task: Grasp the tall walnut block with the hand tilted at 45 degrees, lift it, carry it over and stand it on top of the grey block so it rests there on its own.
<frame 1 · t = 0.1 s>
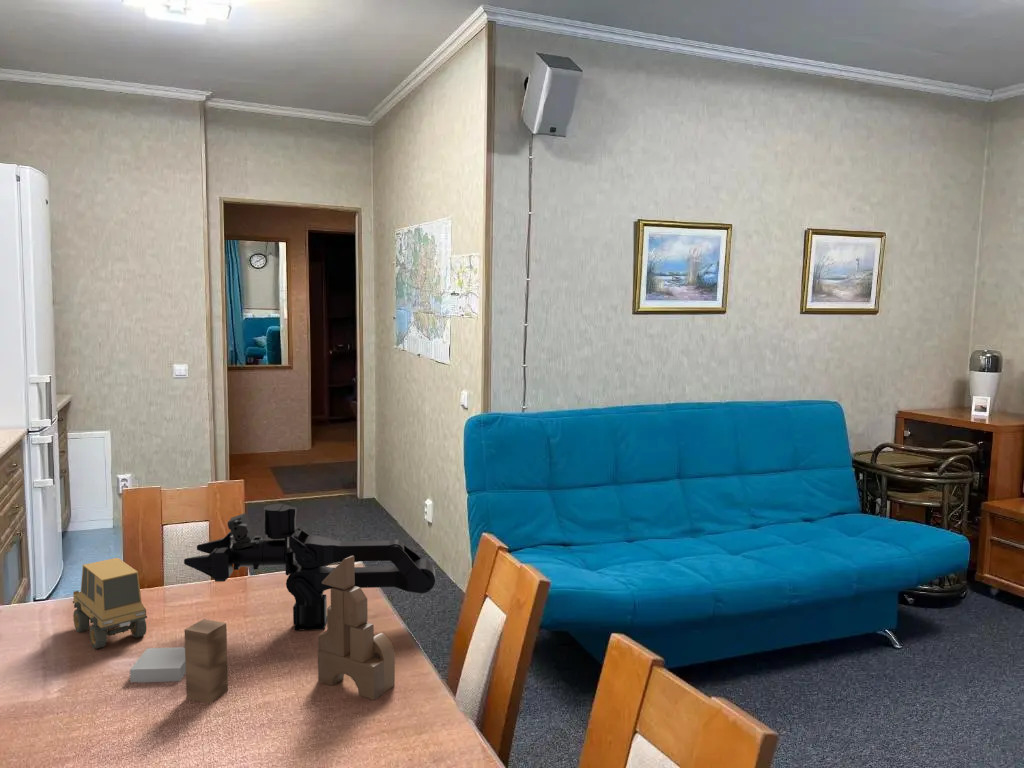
hand: (190, 554, 170), 17 cm above the table, tool horizontal, fingers open, 9 cm apart
wooden toy: (353, 683, 149), on the table
grey block: (163, 672, 152), on the table
toy car: (110, 634, 168), on the table
walnut block: (207, 694, 143), on the table
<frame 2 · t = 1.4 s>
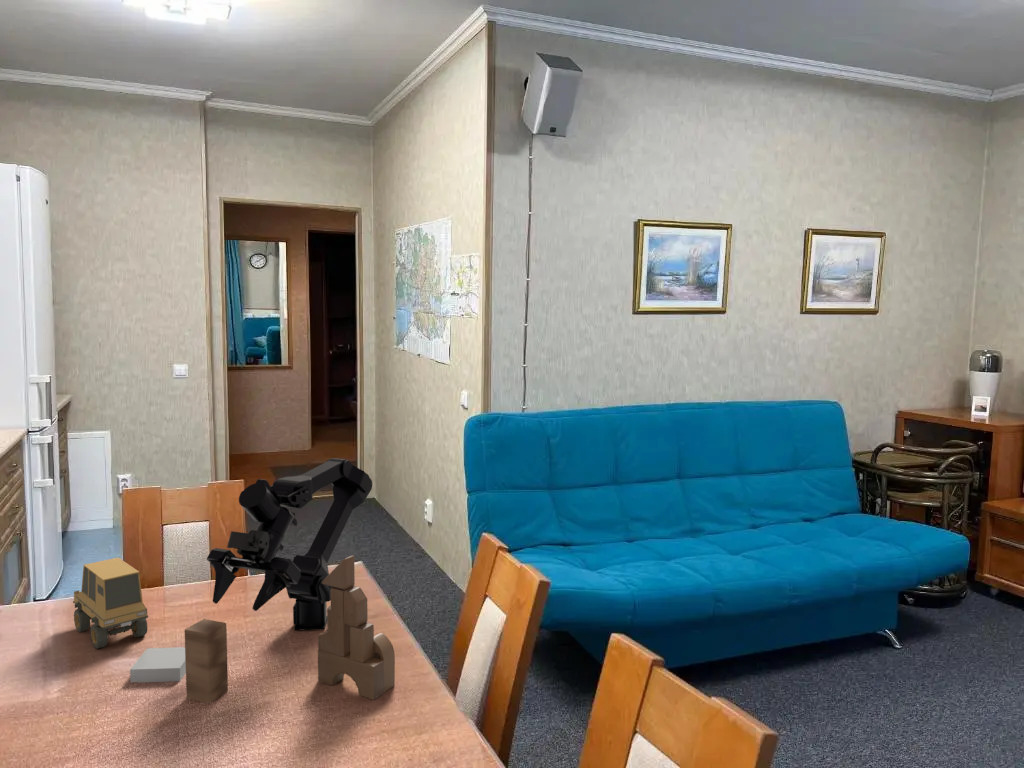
hand: (234, 606, 149), 14 cm above the table, tool tilted 45°, fingers open, 9 cm apart
nothing on the table moved.
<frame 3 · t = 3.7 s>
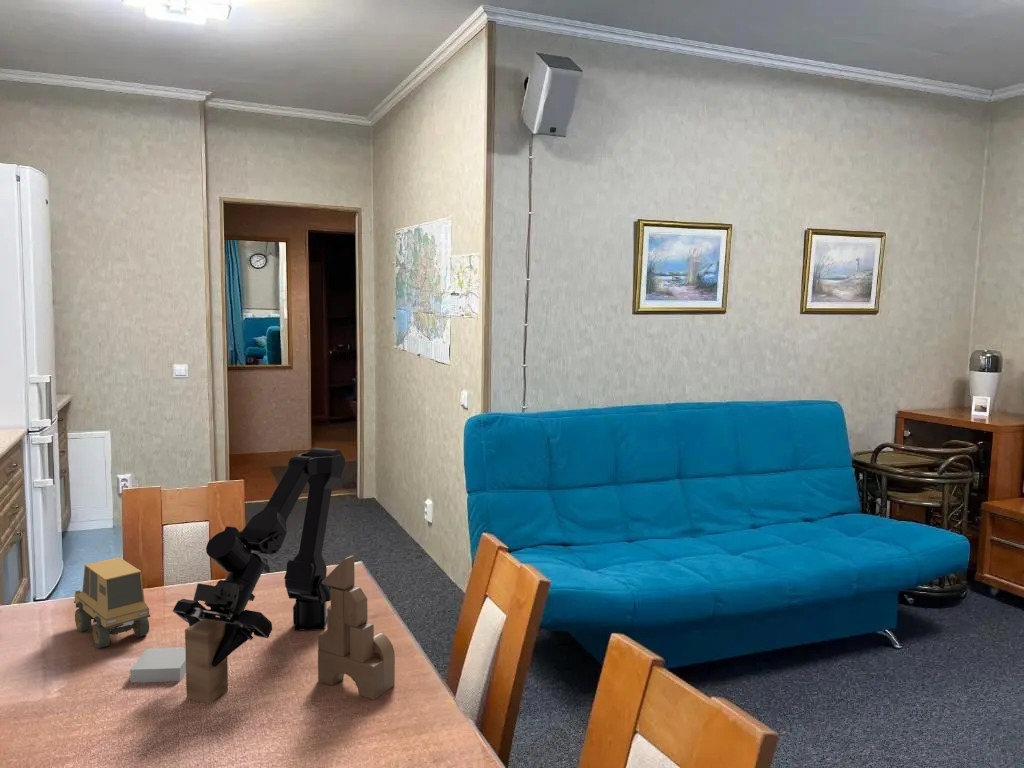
hand: (200, 663, 141), 7 cm above the table, tool tilted 45°, fingers closed on walnut block, 5 cm apart
walnut block: (207, 694, 143), on the table, touching gripper
everything else where it was.
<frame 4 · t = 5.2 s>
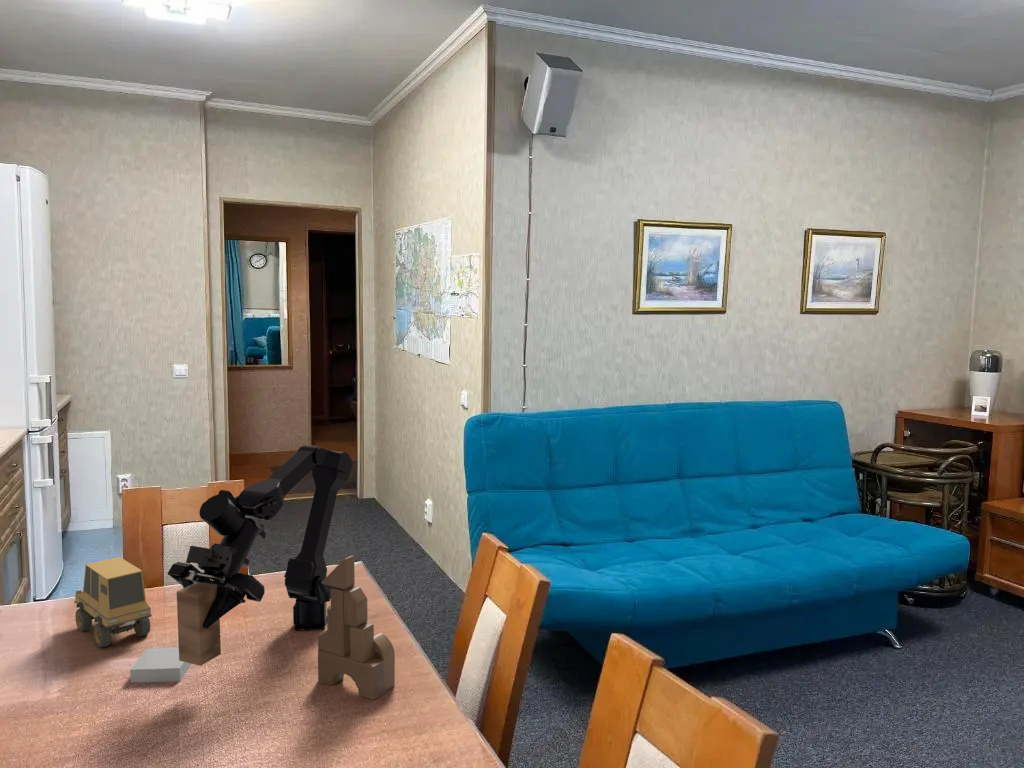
hand: (193, 624, 141), 13 cm above the table, tool tilted 45°, fingers closed on walnut block, 5 cm apart
walnut block: (200, 657, 143), point 7 cm above the table, touching gripper
everything else where it was.
when the fingers open (11 cm above the table, at t = 7.0 s): walnut block drops 1 cm, point 3 cm above the table.
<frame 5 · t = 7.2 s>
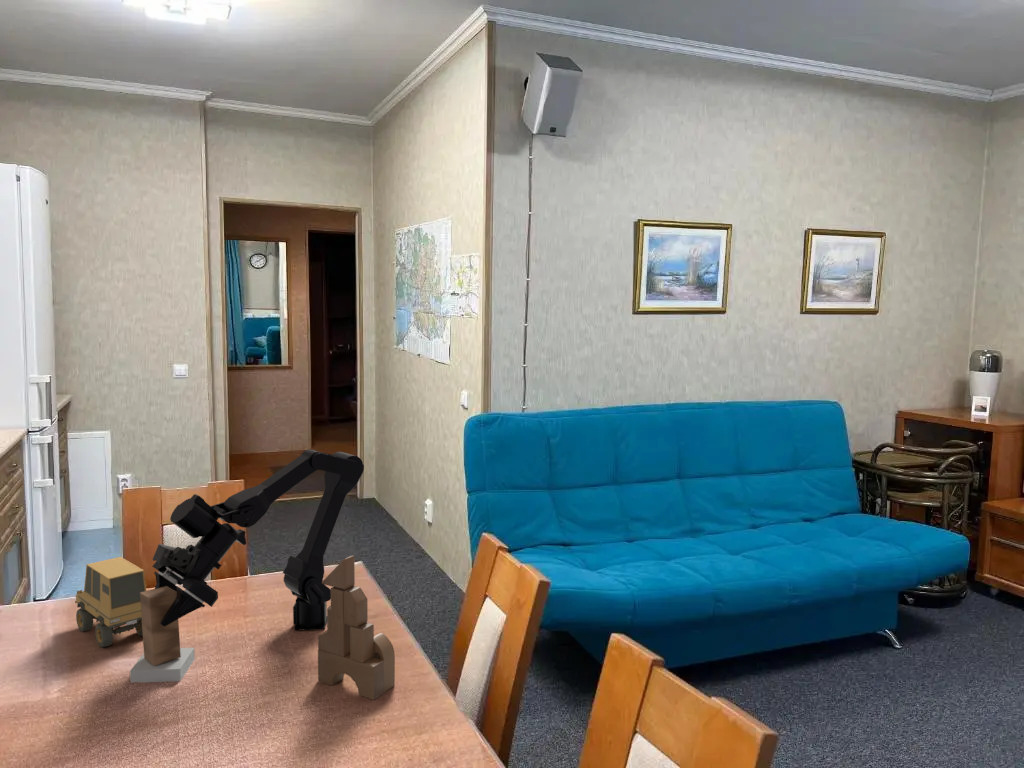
hand: (154, 619, 150), 11 cm above the table, tool tilted 45°, fingers open, 7 cm apart
walnut block: (162, 657, 152), point 3 cm above the table
everything else where it was.
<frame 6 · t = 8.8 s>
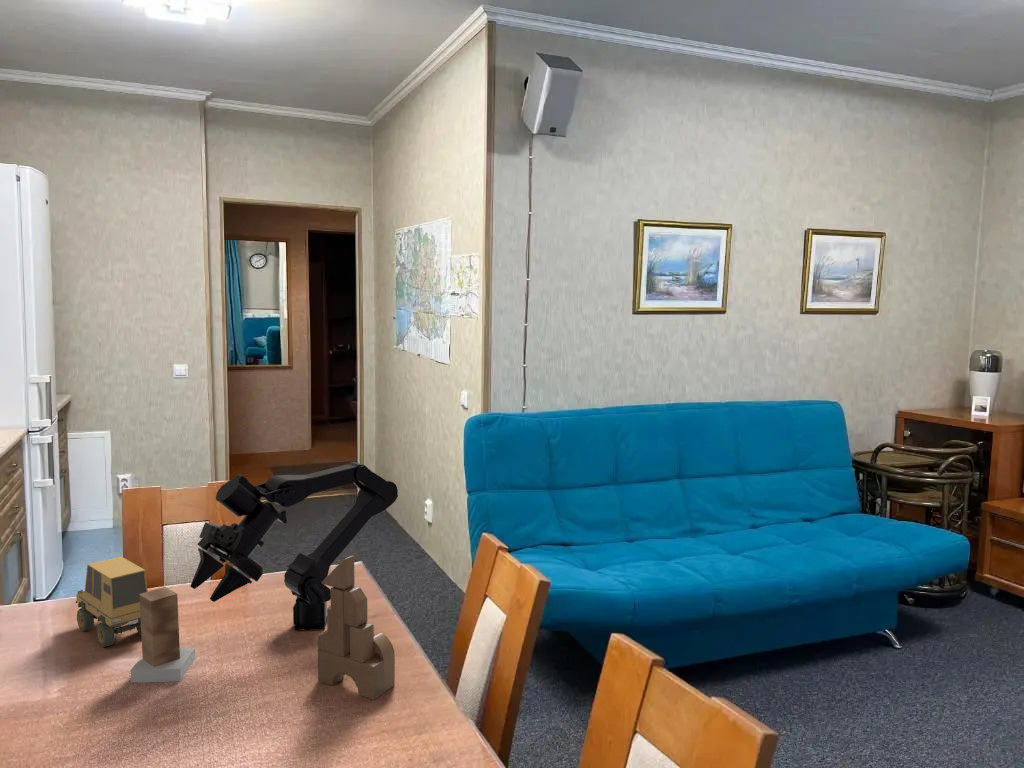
hand: (201, 594, 156), 13 cm above the table, tool tilted 45°, fingers open, 9 cm apart
grey block: (164, 673, 152), on the table, touching walnut block
walnut block: (161, 658, 152), point 2 cm above the table, touching grey block
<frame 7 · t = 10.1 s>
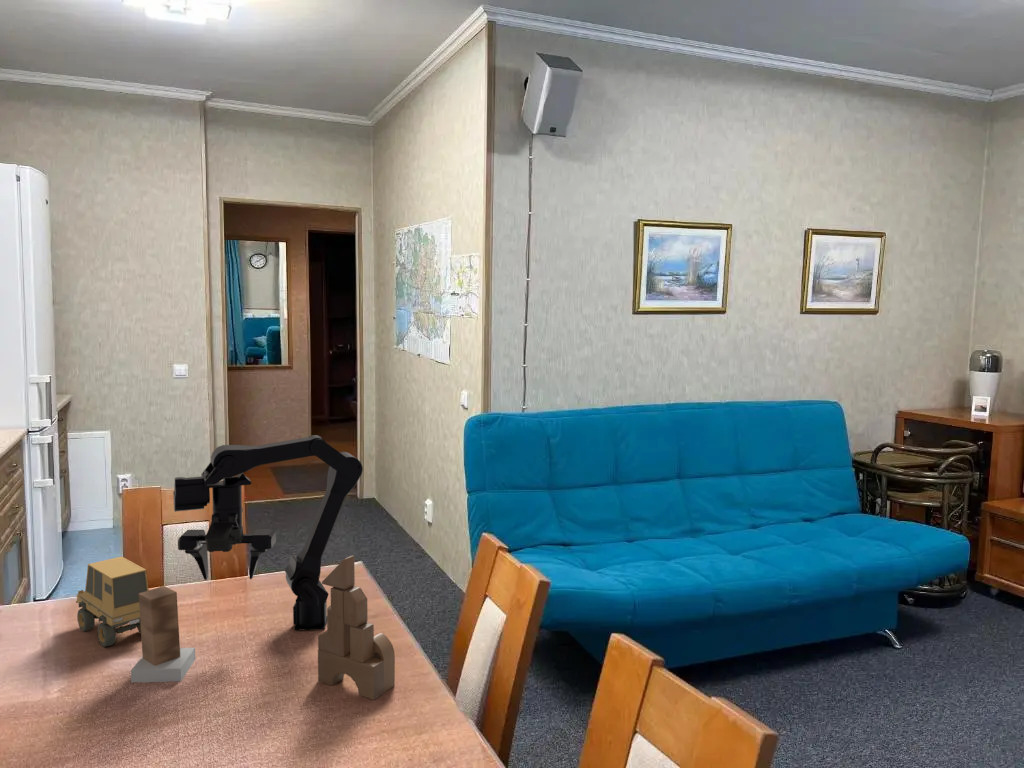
hand: (228, 579, 165), 13 cm above the table, tool pointing down, fingers open, 9 cm apart
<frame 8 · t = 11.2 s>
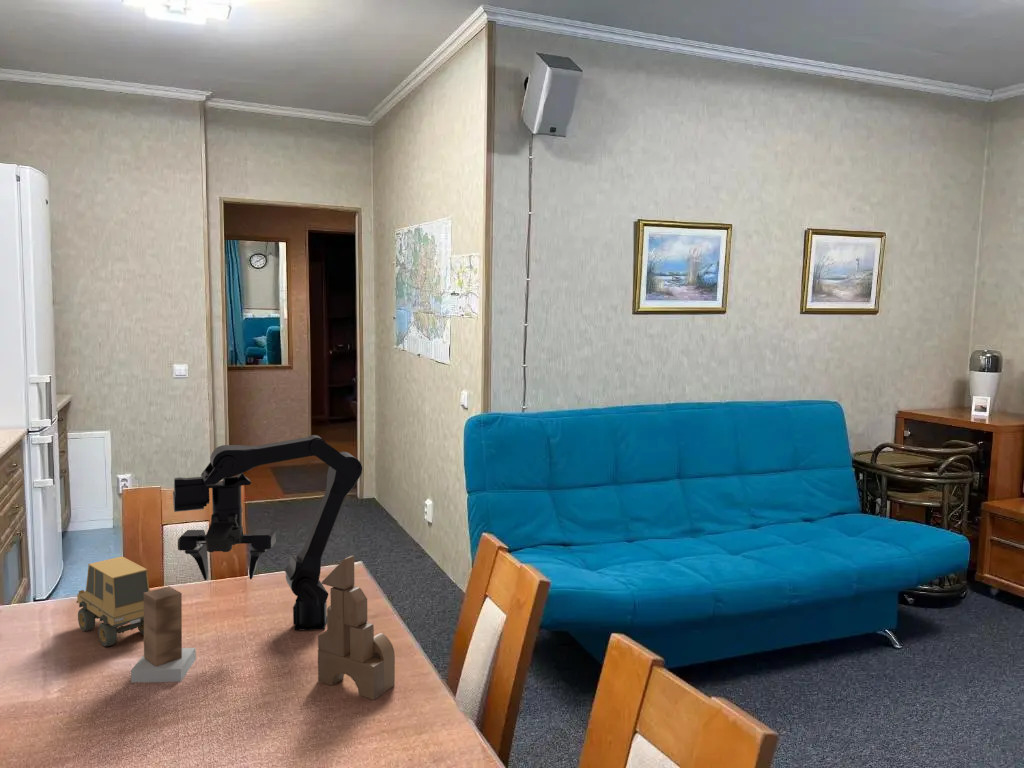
hand: (228, 579, 165), 13 cm above the table, tool pointing down, fingers open, 9 cm apart
grey block: (164, 673, 152), on the table
walnut block: (162, 657, 152), point 3 cm above the table
at the end: walnut block inside the target area on the grey block (0.3 cm from its centre), point 3.1 cm above the grey block's base; walnut block tilted 1°; the gripper is holding nothing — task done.
